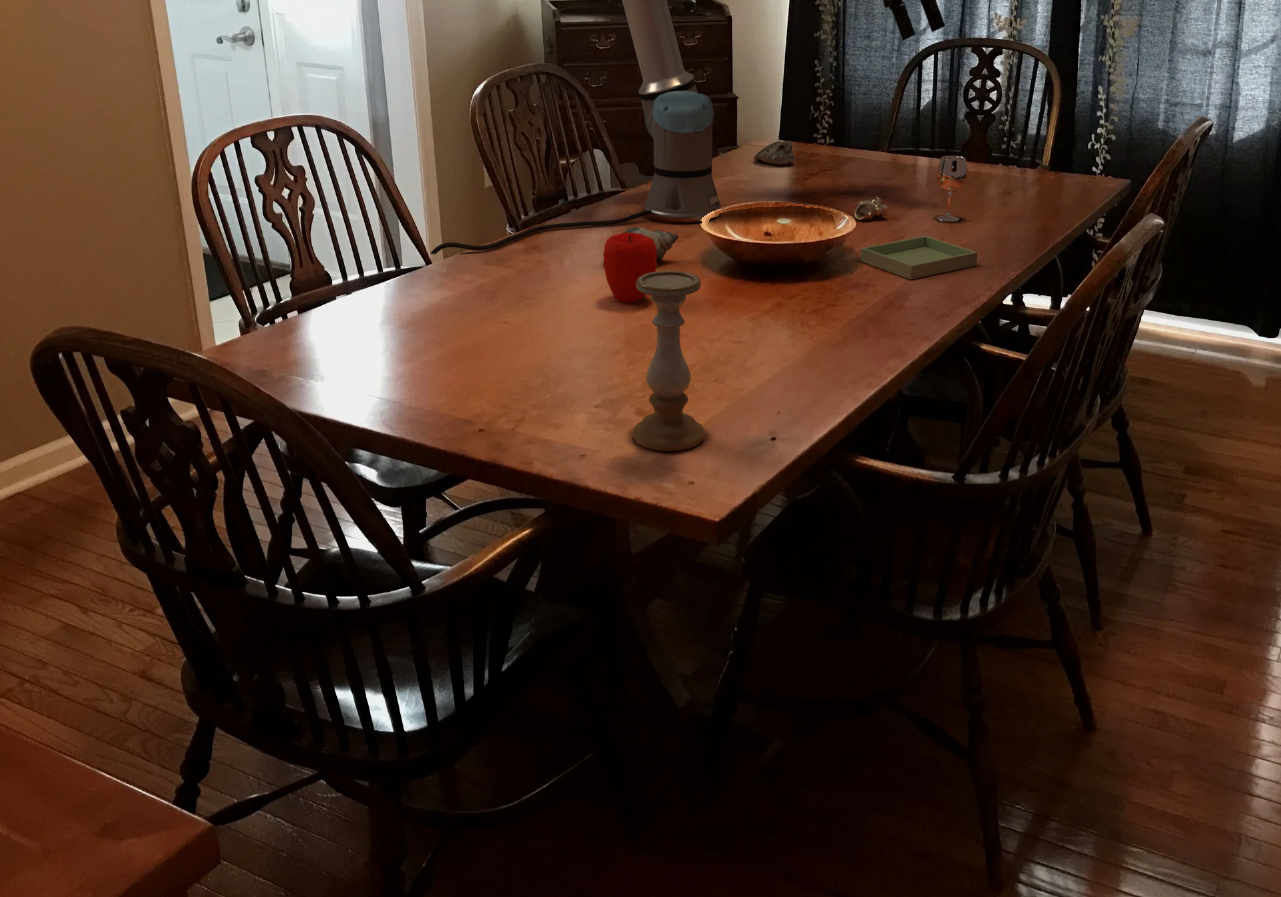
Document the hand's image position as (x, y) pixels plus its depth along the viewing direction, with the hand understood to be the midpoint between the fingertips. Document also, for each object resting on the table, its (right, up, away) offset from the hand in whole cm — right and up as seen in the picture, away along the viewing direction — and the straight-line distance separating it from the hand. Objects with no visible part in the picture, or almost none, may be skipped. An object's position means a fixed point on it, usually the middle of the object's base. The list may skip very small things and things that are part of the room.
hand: (923, 33), depth 255 cm
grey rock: (-25, -16, +46) cm, 54 cm away
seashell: (-57, -51, -29) cm, 81 cm away
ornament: (-11, -38, -2) cm, 39 cm away
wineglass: (+4, -38, -3) cm, 38 cm away
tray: (-8, -51, -31) cm, 60 cm away
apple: (-59, -59, -47) cm, 96 cm away
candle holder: (-53, -82, -98) cm, 138 cm away
